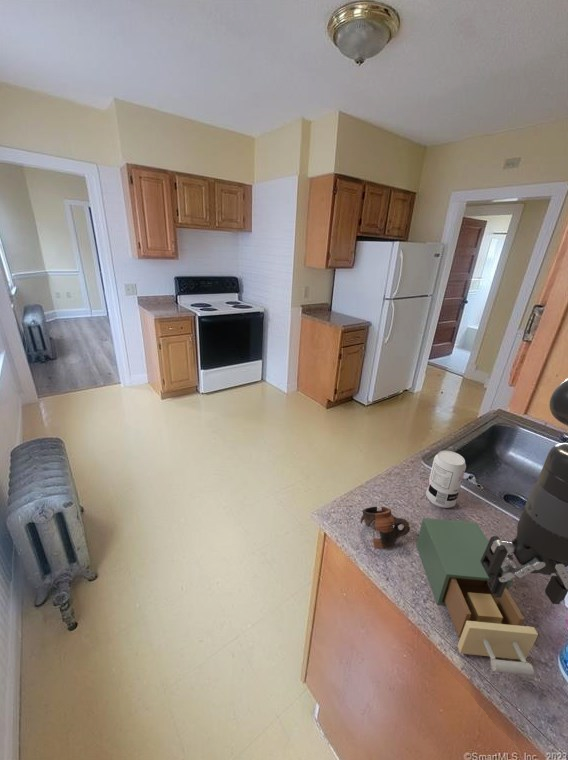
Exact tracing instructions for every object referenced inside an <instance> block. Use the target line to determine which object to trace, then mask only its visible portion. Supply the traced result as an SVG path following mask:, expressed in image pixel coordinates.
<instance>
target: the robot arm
mask: <svg viewBox="0 0 568 760" xmlns="http://www.w3.org/2000/svg"><path fill="white" fill-rule="evenodd" d="M549 410H550V413H551V415H552V416H553V417H554V418H555V420H557V421H558V422H559V423H561V424H563V425H565V426H567V427H568V378H566V379H564V380H563V381H562V382H561V383H560V384H559V385H558V386H556V388H555V389H554V391H553V392H552V394H551V396H550V399H549ZM542 465H543V466H542V468H541V471H540V473H539V476H538V478H537V480H536V481H535V483H534V485H533V486H532V488H531V489H530V491H529V494H528V497H527V500H526V502H525V504H524V507H523V509H522V512H521V514H520V517H519V520H518V522H517V525H516V528H517V529H516V536H515V538H513V539H512V540H511V541H504V540H503V541H502V540H501V538H500V536H498V535H493V536H491V537H490V539H489V540H488V541H489V543H488V545H487V548H486V550H485V552H484V554H483V556H482V559H481V561H480V562H481V564H482V566H483V568H484V569H485V571H486V573H487V575H488V577H489V579H488V582H487V583H488V586H489V588H490V590H491V592H492V593H493V594H494V596H495V597H497V598H501V597H502V594H503V592H504V589H505V587H506V585H507V582H506V581H508V580H510V579H512V580H513V578H518V579H521V578H523V577H525V576H526V575H529V574H542V575H544V576H545V575H546V576H551V577H550V579H549V581H548V584H547V585H546V587H545V589H544V592H545V595H546V596H547V598H548V599H549V601H550V603H551V604H552V605H560V604H561V602H562V601H564V600H565V598H566V596H567V594H568V570H567V567H568V442H560V443H556V444H555V445H553V446H552V447H551V448H550V450H549V451H548V453H547V455H546V458H545V460H544V463H543V464H542ZM515 558H516V560H517V563H519V565H520V566H519V567H517V564H516V563H515V562H514V559H515ZM503 567H504V568H506V567H507V568H508V569H506V571H505V572H504V571H503V570H502V568H503ZM552 574H555V575H552Z"/></svg>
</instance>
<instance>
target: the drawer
mask: <svg viewBox="0 0 568 760" xmlns="http://www.w3.org/2000/svg"><path fill="white" fill-rule="evenodd" d="M487 582H488V581H484V580H473V579H462V578H451V577H449V581H448V584H447V587H446V590H445V594H444V597H443V598H444V601H445V603H446V605H445V606H446V608H447V611H448V614H449V616H450V619H451V621H452V624H453V627H454V629H455V632H456V635H457V637H458V638H459V640H458V643H457V649H458V651H459V654H463V655H464V654H465V655H472V656H473V655H474V656H482V657H483V656H484V657H489V659H490V667H491V669H492V671H494V672H498V673H508V674H516V675H517V674H518V675H527V676H534V675H535V669H534V667H533V665H532V664H531V663H530V662H528V661H527V658H528V656H529V655H530V652H531V650H532V648H533V646H534V644H535V642H536V640H537V638H538V636H539V633H538V631H537V630H536V628H535V627H534V626H526V625H523V624H524V622H525V618H524V616H523V614H522V612H521V610H520V608H519V607H518V606H517V603H516V602H515V601H514V598H513V597H512V595H511V593H510V592H509V589H508V590H507V588H506V587H505V589H504V592H503V594H502V597H501V598H497V597H495V596H494V594H493V593H492V592H491V590H490V588H489V586H488V583H487ZM468 592H471V593H482V594H491V596H492V598H493V600H494V601H495V603H496V605H497V607H498V609H499V611H500V613H501V615H502V617H503V619H502V621H501V624H496V623H486V622H476V621H469V619H470V617H471V612H470V610H469V608H468V605H467V603H466V601H465V599H466V596H467V593H468ZM497 658H501V659H497ZM502 658H503V659H502ZM505 659H512V660H505ZM514 660H515V661H514ZM516 660H519V661H516Z"/></svg>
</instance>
